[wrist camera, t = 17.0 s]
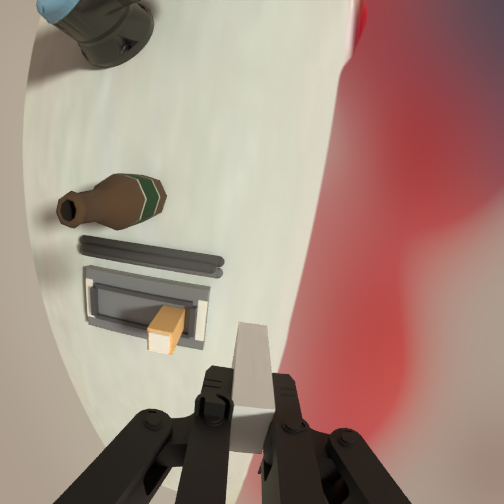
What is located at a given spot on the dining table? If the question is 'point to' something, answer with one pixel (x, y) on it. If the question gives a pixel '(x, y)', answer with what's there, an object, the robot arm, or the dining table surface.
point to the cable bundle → (152, 256)
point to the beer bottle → (114, 202)
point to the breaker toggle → (166, 329)
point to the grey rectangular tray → (144, 303)
